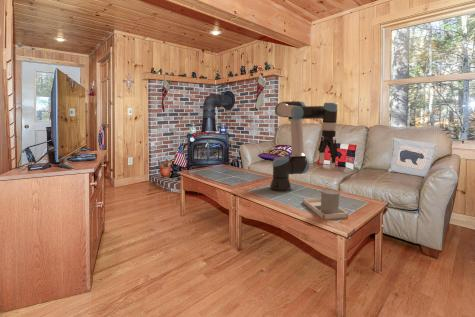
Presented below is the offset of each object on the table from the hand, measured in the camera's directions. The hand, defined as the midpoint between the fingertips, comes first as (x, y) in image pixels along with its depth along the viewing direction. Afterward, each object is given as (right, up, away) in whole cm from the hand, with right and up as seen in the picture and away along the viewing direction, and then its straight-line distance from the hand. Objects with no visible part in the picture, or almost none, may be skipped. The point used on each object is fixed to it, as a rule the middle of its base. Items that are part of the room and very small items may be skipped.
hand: (326, 165), depth 159 cm
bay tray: (-3, -26, -3) cm, 26 cm away
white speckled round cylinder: (-2, -26, -9) cm, 28 cm away
